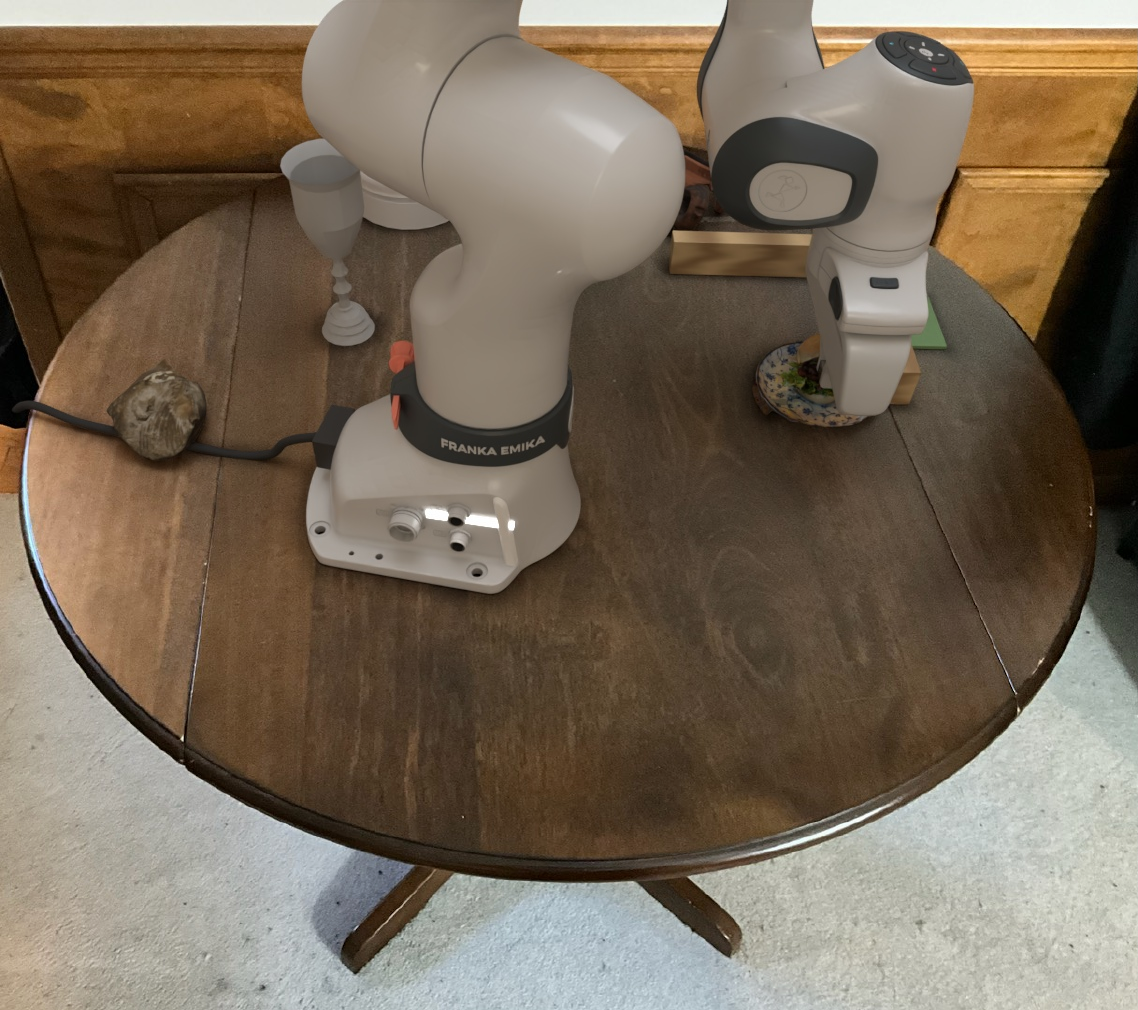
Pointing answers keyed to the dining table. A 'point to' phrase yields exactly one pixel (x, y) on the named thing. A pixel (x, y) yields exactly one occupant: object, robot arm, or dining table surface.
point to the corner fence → (759, 269)
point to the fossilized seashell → (159, 413)
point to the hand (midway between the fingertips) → (827, 379)
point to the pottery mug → (695, 192)
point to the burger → (797, 386)
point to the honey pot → (395, 208)
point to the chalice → (330, 226)
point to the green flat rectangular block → (929, 333)
